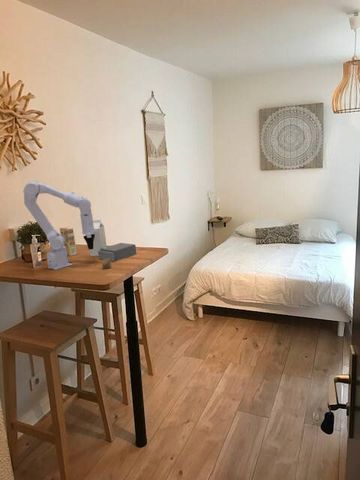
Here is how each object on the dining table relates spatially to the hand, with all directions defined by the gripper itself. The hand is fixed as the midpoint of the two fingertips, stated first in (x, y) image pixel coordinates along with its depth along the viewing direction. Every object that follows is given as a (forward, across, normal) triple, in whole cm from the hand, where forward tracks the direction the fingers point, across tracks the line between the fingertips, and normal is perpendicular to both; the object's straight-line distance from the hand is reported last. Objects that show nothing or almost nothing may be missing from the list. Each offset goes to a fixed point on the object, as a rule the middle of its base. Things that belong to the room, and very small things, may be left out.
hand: (90, 249), depth 195 cm
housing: (+7, +4, -14) cm, 16 cm away
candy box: (+7, +26, +12) cm, 30 cm away
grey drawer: (+6, +3, -13) cm, 14 cm away
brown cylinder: (+7, -16, -6) cm, 18 cm away
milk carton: (+7, +15, -4) cm, 17 cm away
